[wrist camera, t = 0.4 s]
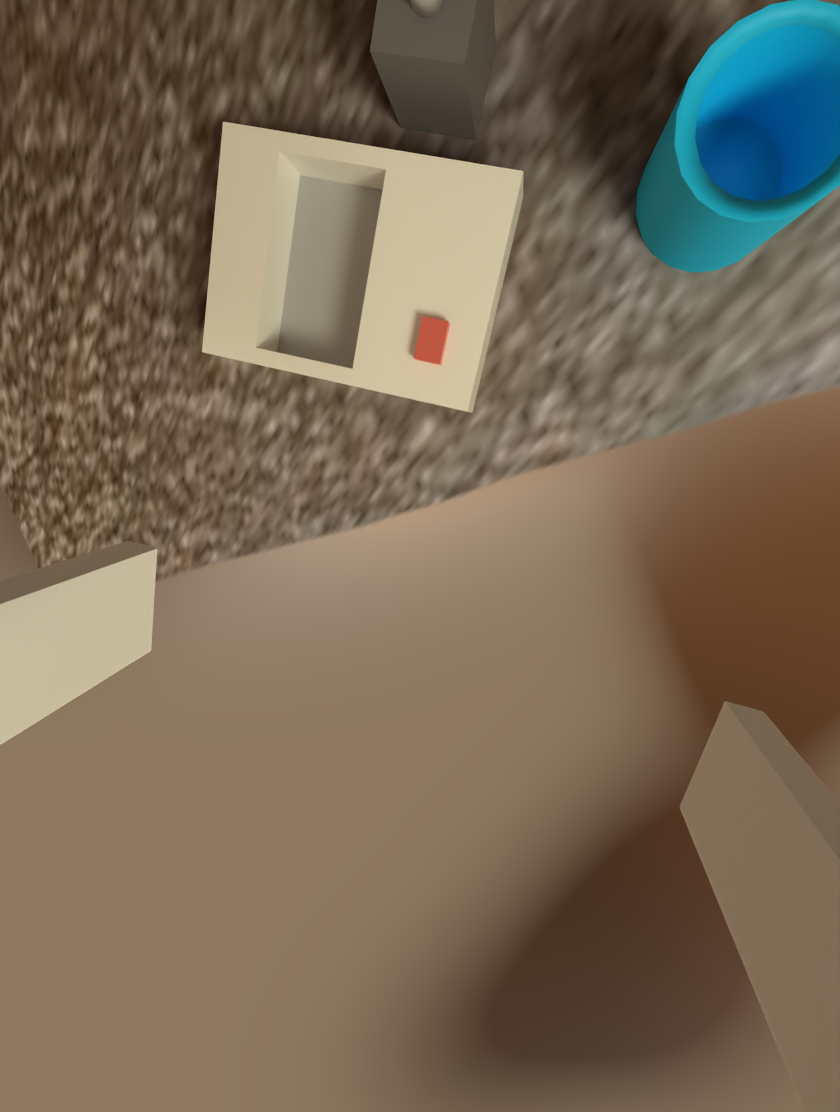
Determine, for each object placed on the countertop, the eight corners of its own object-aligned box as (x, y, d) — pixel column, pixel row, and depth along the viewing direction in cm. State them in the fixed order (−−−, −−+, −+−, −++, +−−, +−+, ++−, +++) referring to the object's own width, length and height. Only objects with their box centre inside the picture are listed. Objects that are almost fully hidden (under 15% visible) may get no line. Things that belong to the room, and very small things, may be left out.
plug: (416, 33, 31) (377, -117, 22) (495, 44, 30) (486, -105, 22) (400, 127, 32) (357, 20, 24) (476, 139, 32) (460, 34, 23)
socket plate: (252, 151, 34) (216, 114, 30) (523, 197, 32) (523, 165, 28) (230, 358, 38) (195, 350, 34) (472, 412, 36) (466, 411, 32)
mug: (669, 300, 32) (717, 260, 24) (612, 172, 31) (643, 86, 23) (885, 177, 29) (1022, 84, 21) (830, 28, 28) (952, -128, 20)
